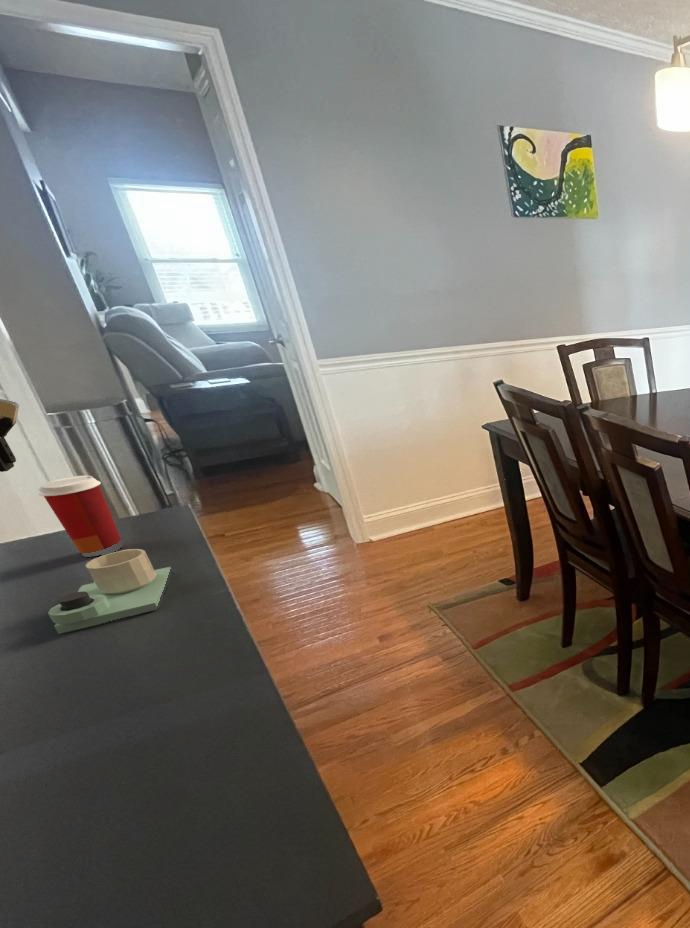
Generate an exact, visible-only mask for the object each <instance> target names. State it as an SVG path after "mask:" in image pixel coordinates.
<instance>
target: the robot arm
mask: <svg viewBox="0 0 690 928" xmlns="http://www.w3.org/2000/svg"><path fill="white" fill-rule="evenodd" d="M19 409H20V405H19V403H17V402H16V401H12V400H7V399H3V398H0V473H2V472H3V473H4V472H8V471H9V470H11V469H12V468H14V467H15V465H14V464H15V463H16V462H17V459H16V456H15V454H14V452H13V451H12V449H11V447H10V445H9V443H8V441H7V440H6V438H5V437H6V436H8V433H9V432H10V431H11V430H12V429H13V427H14V426H15V425H16V423H17V417H18V413H19Z"/></svg>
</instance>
